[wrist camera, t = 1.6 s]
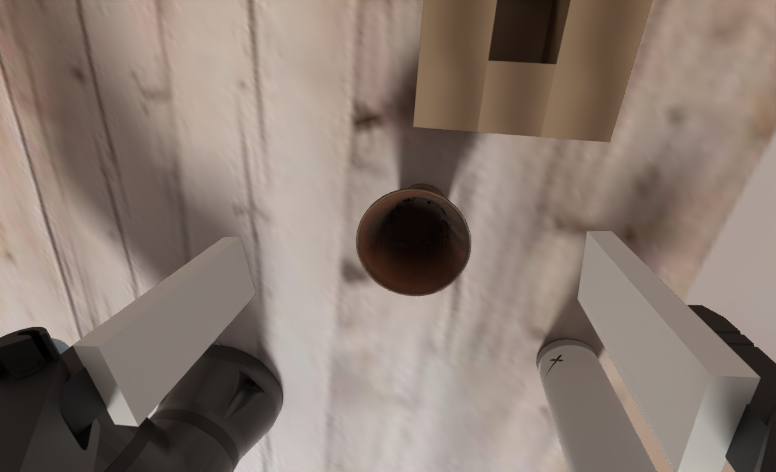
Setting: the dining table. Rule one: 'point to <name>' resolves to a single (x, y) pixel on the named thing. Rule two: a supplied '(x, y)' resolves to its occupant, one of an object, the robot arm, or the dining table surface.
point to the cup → (413, 241)
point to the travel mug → (588, 412)
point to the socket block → (527, 65)
